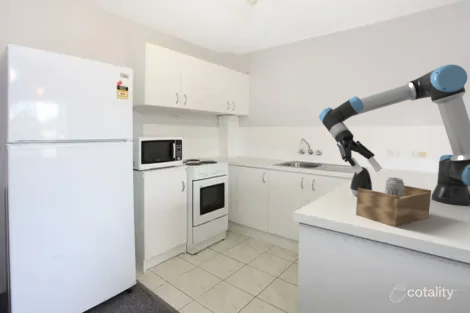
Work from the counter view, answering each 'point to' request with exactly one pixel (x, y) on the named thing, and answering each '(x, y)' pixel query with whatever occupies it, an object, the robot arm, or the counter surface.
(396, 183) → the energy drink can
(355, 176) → the black tall egg shape
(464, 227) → the counter surface
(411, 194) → the oak crate
